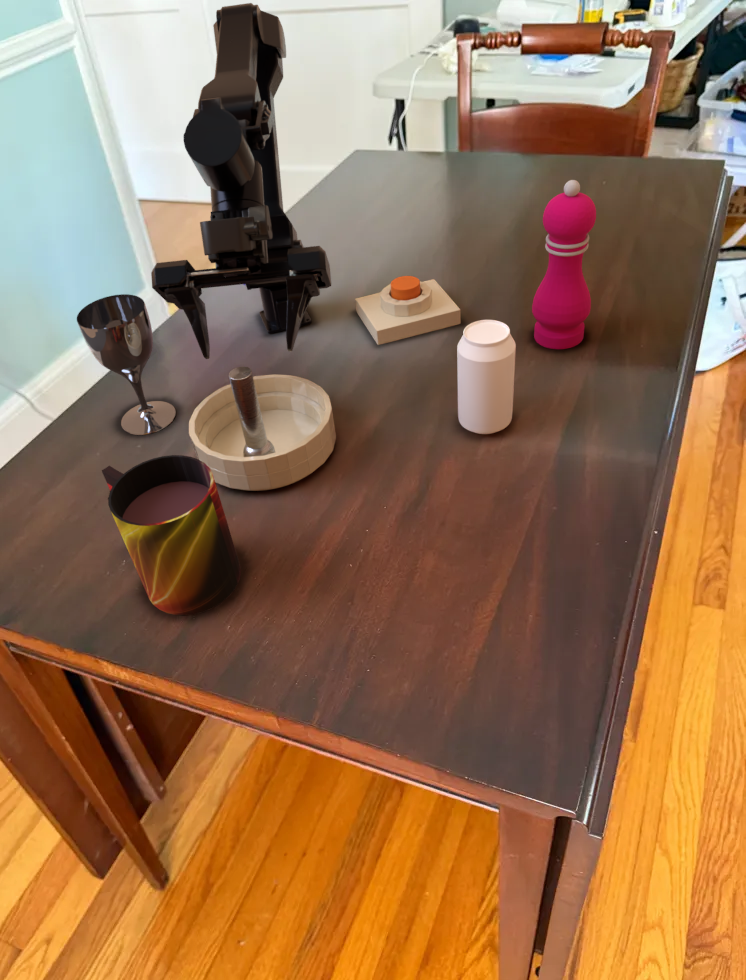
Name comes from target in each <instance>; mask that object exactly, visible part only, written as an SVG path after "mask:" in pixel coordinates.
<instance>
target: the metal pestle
mask: <svg viewBox="0 0 746 980" xmlns="http://www.w3.org/2000/svg"><path fill="white" fill-rule="evenodd" d="M253 377H254V375H253V371H252V369H251V368H250V367H248V366H238V367H234V368H233V369H231V370H230V371H229V372H228V378H229V384H231V387H232V391H233V395H234V399H235V403H236V407H237V411H238V415H239V419H240V423H241V427H242V431H243V435H244V439H245V442H246V445H245V447H244V450H243V456H244V457H253V456H264V455H268V454H272V453H275V448H274V446H273V444H272V443H271V442H270V441H269V440H268V439H267V436H266V432H265V427H264V423H263V419H262V414H261V410H260V406H259V401H258V397H257V392H256V388H255V384H254V379H253Z"/></svg>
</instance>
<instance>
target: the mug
mask: <svg viewBox="0 0 746 980" xmlns="http://www.w3.org/2000/svg"><path fill="white" fill-rule="evenodd" d="M101 473H102V475H103V477H104V479H105V482H106V485H107V487H108V489H109V494H108V498H107V502H108V503H107V504H108V508H109V510H110V512H111V515H112V517H113V520H114V522H115V524H116V526H117V529H118V531H119V534H120V535H121V538H122V540H123V543H124V544H125V547H126V550H127V551H128V554H129V556H130V558H131V560H132V563H133V565H134V567H135V568H134V569H135V570H136V573H137V575H138V577H139V579H140V581H141V584H142V586H143V588H144V591H145V593H146V595H147V597H148V600H149V601H150V603H151V604H152V606H154V607H155V608H156V609H158V610H159V611H162V612H163V613H166V614H169V615H174V616H189V615H197V614H201V613H204V612H207V611H208V610H211V609H214V608H216V607H217V606H218V605H220V604H222V603H223V602H224V601H226V600H227V599H228V598H229V597H230V596H231V595H232V593H234V591H235V590H236V588H237V587H238V585H239V583H240V579H241V575H242V574H241V571H242V569H241V564H240V560H239V557H238V554H237V549H236V546H235V543H234V540H233V537H232V534H231V530H230V527H229V524H228V521H227V517H226V514H225V510H224V507H223V504H222V500H221V497H220V493H219V490H218V487H217V483H216V482H215V480H214V477H213V473H212V471H211V470H210V468H209V467H208V466H207V465H206V464H205V463H204V462H202V461H200V460H199V459H197V458H196V457H194V456H189V455H182V454H170V455H162V456H158V457H154V458H151V459H148V460H144V461H142V462H140V463H138V464H136V465H135V466H132V467H131V468H129V469H128V470H127V471H125V472H124V473H122V472H121V471H119V470H118V469H116V468H114V467H112V466H111V465H108V466H106V467H105V468H103V469H101Z"/></svg>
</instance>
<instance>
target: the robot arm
mask: <svg viewBox="0 0 746 980" xmlns="http://www.w3.org/2000/svg"><path fill="white" fill-rule="evenodd" d="M215 14H216V21H215V22H214V23H213V25H212V27H213V34H214V42H215V50H216V59H215V60H216V61H215V69H214V71H215V72H214V78H213V79H212V80H210V81H209V82H208V83H206V84H204V85H203V87H202V88H201V90H200V93H199V98H198V104H197V108H195V109H194V112H193V115H192V117H191V118H190V120H189V121H188V124H187V126H186V127H185V130H184V133H183V145H184V149H185V150H186V152H187V155H188V157H189V158H190V160H191V161H192V163H193V165H194V167H195V168H196V170H197V171H198V174H199V175H200V177H201V178H202V181H203V182H204V183H205V185H206V186H207V187H210V188H209V189H210V203H211V205H210V206H211V211H210V217H209V220H204V221H200V222H199V227H200V234H201V241H202V247H203V253H204V256H208V261H209V262H210V263H211V264H215V268H213V267H212V268H204V269H203V268H202V269H196V268H194V266H193V265H192V264H191V263H190V261H189V260H188V259H181V260H172V261H171V260H170V261H161V262H156V263H155V265H154V266H153V268H152V271H151V272H150V274H151V275H150V276H151V288H152V289H153V290H154V292H156V293H157V294H158V295H159V296H160V297H161V298H162V299H163V300H164V301H165V302H166V303H169V304H173V305H175V307H177V309H178V310H183V313H184V314H185V316H186V317H187V320H188V321H189V324H190V327H191V329H192V331H193V334H194V337H195V339H196V342H197V344H198V346H199V349H200V352H201V355H202V356H203V358H204V359H205V360H209V359H210V351H211V346H210V336H209V329H208V319H207V311H206V303H205V302H204V300H202V298H201V296H202V294H203V292H202V291H203V290H202V289H210V288H219V287H230V286H241V285H245V286H246V290H247V291H251V290H255V289H259V294H260V299H261V303H262V308H263V310H260V311H259V317H260V319H261V321H262V323H263V325H264V328H265V330H266V332H267V334H270V335H271V334H276V333H280V332H284V331H285V338H286V339H285V340H286V348H287V351H288V352H292V351H293V350H294V347H295V344H296V340H297V336H298V334H299V330H300V327H304V326H307V325H310V324H312V319H311V317H310V315H309V313H308V311H307V308H308V306H309V304H310V302H311V300H312V298H314V297H319V296H321V290H322V289H328V288H330V287H332V276H331V266H330V262H329V259H328V255H327V252H326V250H325V249H323V248H322V247H321V246H320V245H314V246H304V245H303V242H302V240H301V239H298V233H297V230H296V228H295V227H294V225H293V223H292V221H291V220H290V219H289V217H288V215H287V214H286V213H285V211H284V202H283V191H282V179H281V169H280V158H279V157H280V156H279V145H278V135H277V134H278V133H277V121H276V112H275V99H274V98H275V96H276V94H277V92H278V90H279V88H280V86H281V83H282V82H283V80H284V66H283V65H284V64H283V59H286V58H287V45H286V38H285V37H286V36H285V32H284V28H283V25H282V22H281V21H280V18H279V17H278V16H277V15H275V14H272V13H269V12H266V11H263V10H261V7H260V6H259V5H258V4H253V3H252V2H248V3H241V4H232V5H224V6H221V8H220V9H217V10H216V12H215Z"/></svg>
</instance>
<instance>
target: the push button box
mask: <svg viewBox="0 0 746 980" xmlns="http://www.w3.org/2000/svg"><path fill="white" fill-rule="evenodd" d="M381 289H382V290H381V291H380V292H376V293H373V294H368V295H365V296H360V297H357V298H354V301H355V309H356V313H357V315H358V316H359V318H360V319H361V321H362V323H363V324H364V326H365V327H366V329H367V331H368V332H369V334H370V335H371V337H372V338H373V340H374V341H375V343H376V344H377V346H379V345H383V344H387V343H392V342H395V341H399V340H403V339H407V338H410V337H414V336H415V337H416V336H419V335H422V334H423V335H424V334H427V333H431V332H435V331H439V330H442V329H445V328H451V327H454V326H457V325H461V322H462V321H461V320H462V319H461V318H462V317H461V308H459V306H458V305H457V304H456V303H455V302H454V301H453V299H452V298H451V297H450V296H449V294H448V293H447V292H446V291H445V290H444V289H443V287H442V286H441V285H440V284H439V283H438V282H437V281H436V280H435V278H433V279H428V280H425V281H421V280H420V296H418V297H417V298H415V299H411V300H396V299H393V298H392V296H391V283H389V284H387V285H386V286H385V287H383V288H381Z"/></svg>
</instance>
